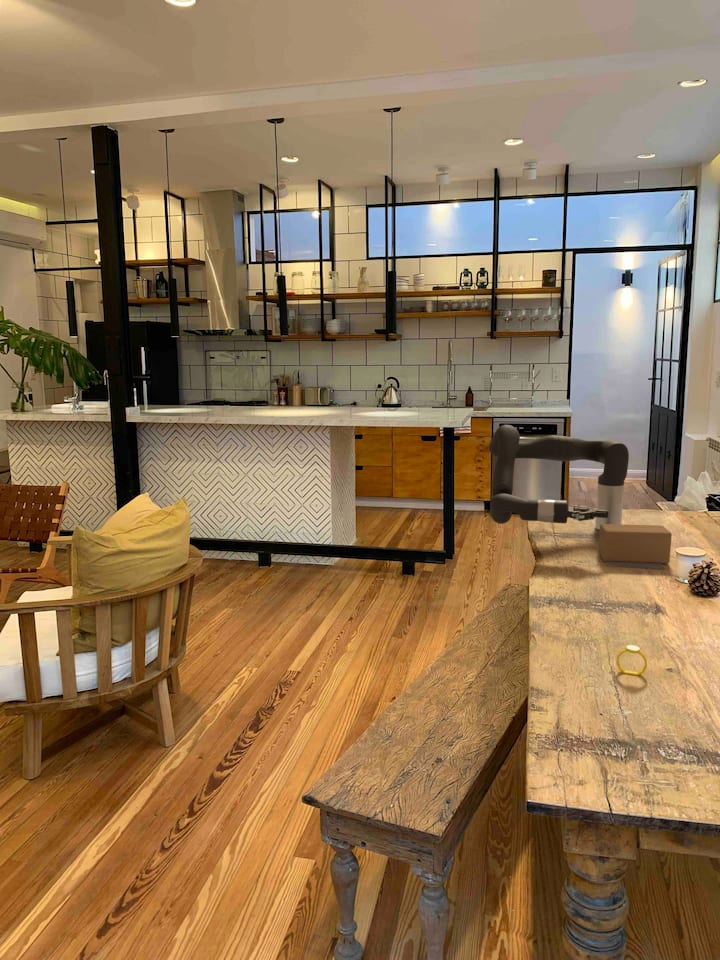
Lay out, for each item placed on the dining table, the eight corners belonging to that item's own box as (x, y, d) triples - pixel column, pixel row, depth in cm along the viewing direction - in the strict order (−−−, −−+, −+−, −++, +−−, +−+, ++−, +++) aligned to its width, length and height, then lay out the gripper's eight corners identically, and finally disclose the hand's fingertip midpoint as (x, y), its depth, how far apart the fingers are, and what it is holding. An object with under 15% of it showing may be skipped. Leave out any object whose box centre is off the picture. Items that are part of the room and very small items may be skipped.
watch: (645, 674, 154) (649, 648, 152) (644, 679, 151) (648, 653, 150) (615, 667, 156) (619, 642, 154) (614, 673, 153) (618, 647, 152)
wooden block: (598, 552, 240) (661, 554, 237) (604, 561, 230) (669, 563, 227) (600, 523, 238) (663, 525, 235) (606, 531, 228) (672, 533, 225)
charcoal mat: (603, 552, 241) (603, 551, 241) (657, 556, 237) (657, 554, 237) (607, 565, 227) (607, 564, 227) (664, 569, 223) (665, 568, 223)
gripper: (551, 517, 242) (605, 520, 238) (551, 527, 230) (609, 530, 226) (552, 495, 241) (607, 498, 237) (552, 504, 228) (610, 507, 224)
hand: (608, 514), depth 231 cm, fingers closed
